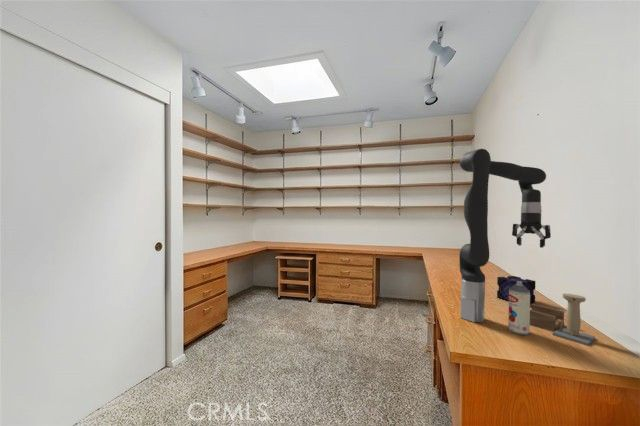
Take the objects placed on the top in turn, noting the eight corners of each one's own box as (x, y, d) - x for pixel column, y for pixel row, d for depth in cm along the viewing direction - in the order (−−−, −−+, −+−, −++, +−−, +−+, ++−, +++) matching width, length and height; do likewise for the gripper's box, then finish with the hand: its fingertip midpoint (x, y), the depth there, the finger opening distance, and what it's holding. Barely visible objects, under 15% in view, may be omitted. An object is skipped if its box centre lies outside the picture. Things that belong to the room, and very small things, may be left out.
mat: (588, 345, 96) (588, 343, 96) (552, 334, 105) (552, 332, 105) (595, 338, 102) (595, 336, 102) (560, 328, 110) (560, 327, 110)
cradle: (554, 331, 107) (554, 317, 107) (522, 322, 116) (522, 308, 116) (564, 325, 114) (564, 311, 114) (532, 316, 123) (532, 303, 123)
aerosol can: (504, 327, 111) (505, 279, 111) (522, 328, 110) (522, 279, 110) (515, 334, 104) (516, 283, 104) (533, 335, 104) (534, 284, 104)
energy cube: (497, 298, 150) (497, 277, 150) (512, 296, 153) (513, 275, 153) (518, 305, 138) (519, 282, 138) (535, 303, 142) (535, 281, 142)
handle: (585, 339, 100) (586, 299, 99) (562, 333, 104) (562, 295, 104) (584, 335, 103) (585, 296, 103) (561, 330, 107) (562, 292, 107)
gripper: (510, 211, 130) (509, 245, 130) (547, 212, 118) (546, 248, 118) (516, 212, 134) (516, 244, 134) (553, 212, 122) (552, 247, 122)
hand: (530, 246), depth 126 cm, fingers open, 8 cm apart
